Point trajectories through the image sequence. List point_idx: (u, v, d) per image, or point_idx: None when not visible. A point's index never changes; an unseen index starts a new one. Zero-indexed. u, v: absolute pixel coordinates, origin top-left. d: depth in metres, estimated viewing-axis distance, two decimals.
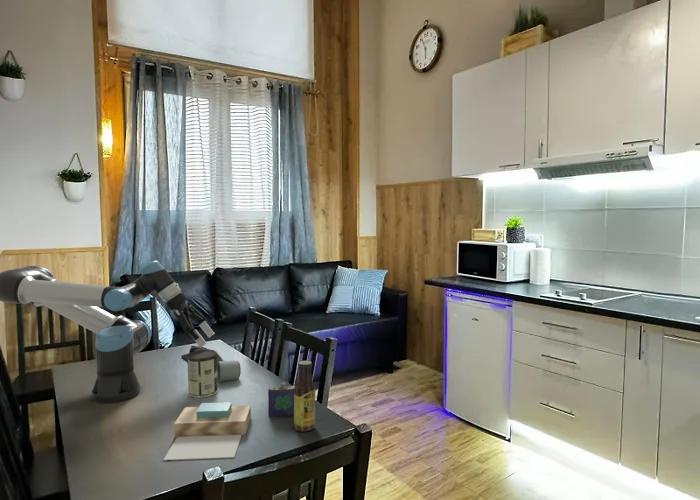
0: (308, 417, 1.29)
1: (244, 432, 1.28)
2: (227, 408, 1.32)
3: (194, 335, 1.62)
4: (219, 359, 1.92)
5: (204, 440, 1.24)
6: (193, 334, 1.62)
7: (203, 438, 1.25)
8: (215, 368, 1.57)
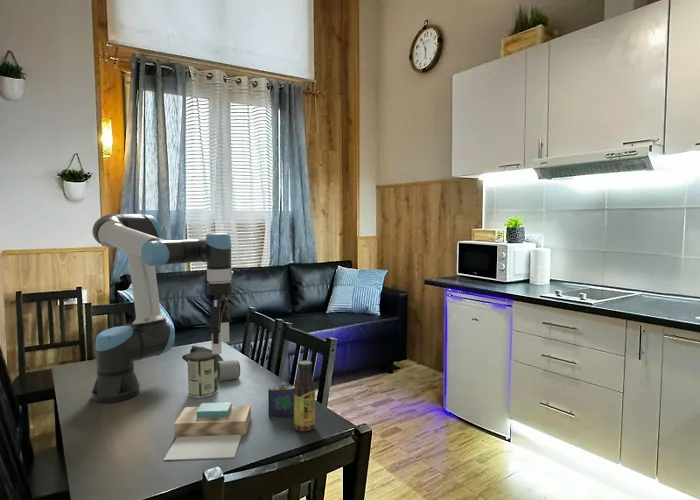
0: (308, 417, 1.29)
1: (244, 432, 1.28)
2: (227, 408, 1.32)
3: (216, 338, 1.34)
4: (220, 359, 1.92)
5: (204, 440, 1.24)
6: (215, 336, 1.34)
7: (203, 438, 1.25)
8: (215, 368, 1.57)
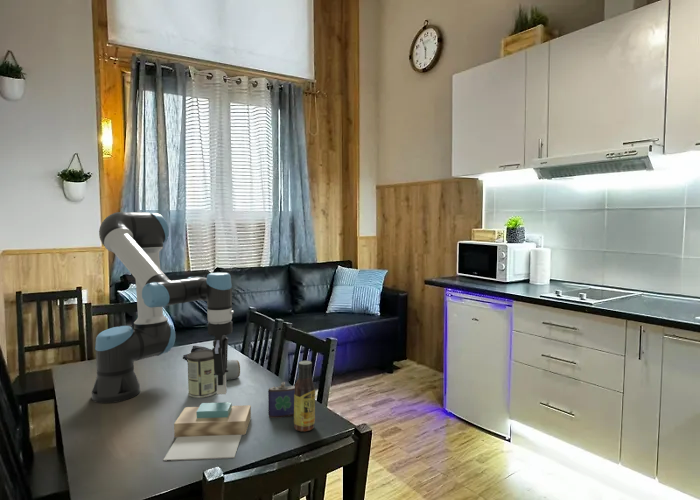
0: (308, 417, 1.29)
1: (244, 432, 1.28)
2: (227, 408, 1.32)
3: (220, 380, 1.40)
4: None
5: (204, 440, 1.24)
6: (220, 378, 1.40)
7: (203, 438, 1.25)
8: None
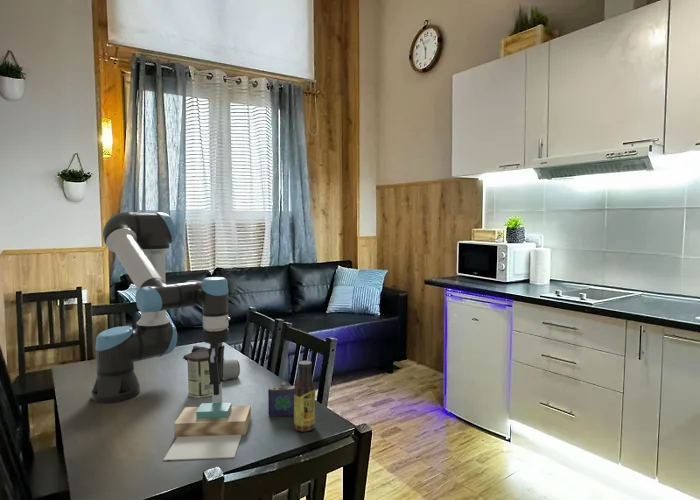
0: (308, 417, 1.29)
1: (244, 432, 1.28)
2: (227, 408, 1.31)
3: (216, 389, 1.34)
4: None
5: (204, 440, 1.24)
6: (216, 388, 1.34)
7: (203, 438, 1.25)
8: None
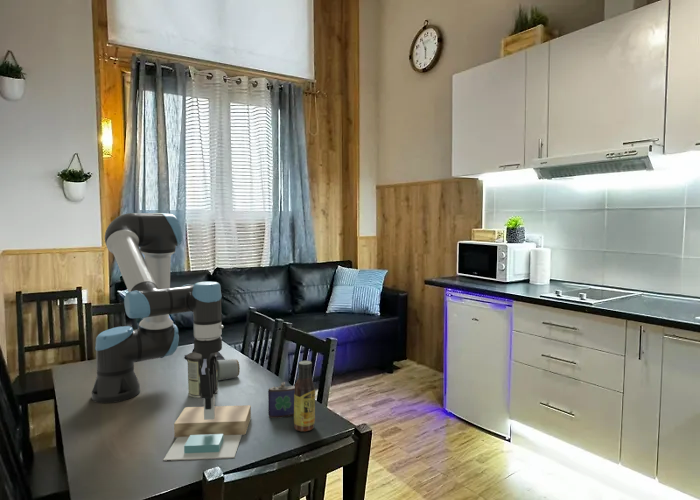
0: (308, 417, 1.29)
1: (244, 432, 1.28)
2: None
3: (208, 403, 1.24)
4: (222, 359, 1.92)
5: None
6: (208, 402, 1.24)
7: None
8: None
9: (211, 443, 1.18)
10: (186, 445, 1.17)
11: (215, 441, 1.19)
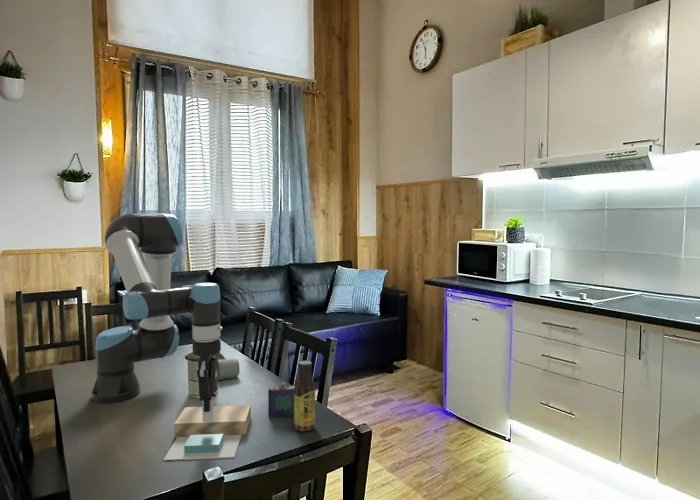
0: (308, 417, 1.29)
1: (244, 432, 1.28)
2: None
3: (207, 406, 1.23)
4: (222, 359, 1.92)
5: None
6: (206, 404, 1.23)
7: None
8: None
9: (211, 443, 1.18)
10: (186, 445, 1.17)
11: (215, 441, 1.19)
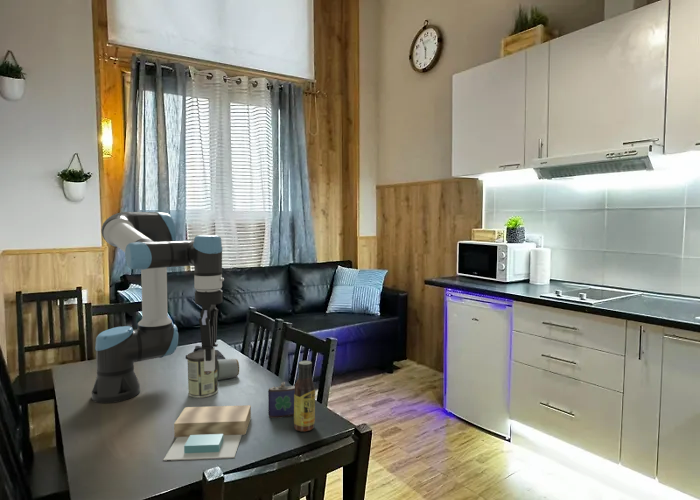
0: (308, 417, 1.29)
1: (244, 432, 1.28)
2: None
3: (208, 355, 1.25)
4: None
5: None
6: (208, 353, 1.25)
7: None
8: (215, 368, 1.57)
9: (211, 443, 1.18)
10: (186, 445, 1.17)
11: (215, 441, 1.19)
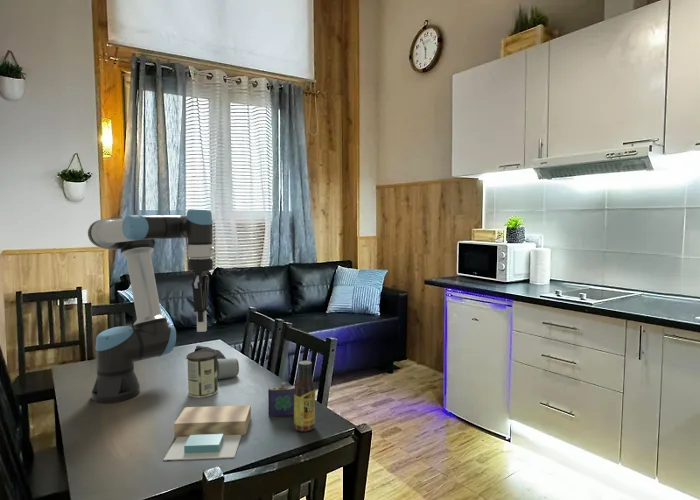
0: (308, 417, 1.29)
1: (244, 432, 1.28)
2: None
3: (200, 316, 1.40)
4: None
5: None
6: (200, 315, 1.40)
7: None
8: (215, 368, 1.57)
9: (211, 443, 1.18)
10: (186, 445, 1.17)
11: (215, 441, 1.19)
